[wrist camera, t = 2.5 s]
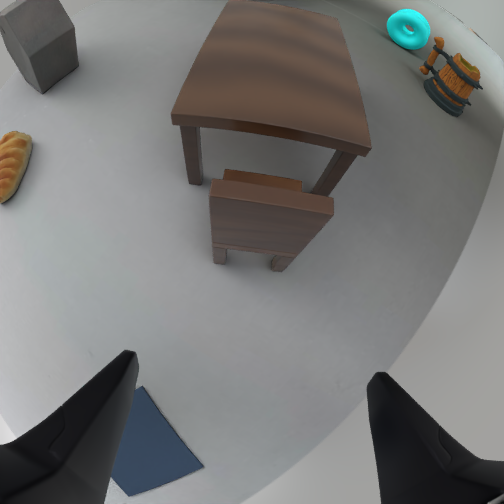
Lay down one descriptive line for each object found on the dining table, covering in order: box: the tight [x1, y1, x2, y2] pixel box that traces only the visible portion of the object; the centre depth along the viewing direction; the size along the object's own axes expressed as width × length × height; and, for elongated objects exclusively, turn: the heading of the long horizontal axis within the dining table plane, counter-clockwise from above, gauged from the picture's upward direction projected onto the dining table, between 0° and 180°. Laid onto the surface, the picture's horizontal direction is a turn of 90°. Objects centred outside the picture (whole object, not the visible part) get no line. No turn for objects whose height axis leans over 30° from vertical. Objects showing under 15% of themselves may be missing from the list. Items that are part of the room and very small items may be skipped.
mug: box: [420, 37, 483, 117], centre depth 33 cm, size 13×10×12 cm
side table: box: [171, 0, 372, 197], centre depth 25 cm, size 24×14×10 cm, turn 174°
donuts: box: [387, 9, 430, 50], centre depth 40 cm, size 10×10×10 cm
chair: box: [209, 169, 334, 272], centre depth 19 cm, size 6×6×12 cm
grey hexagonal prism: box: [0, 0, 79, 94], centre depth 22 cm, size 17×8×21 cm
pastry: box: [0, 131, 32, 203], centre depth 22 cm, size 9×7×4 cm
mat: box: [111, 386, 203, 497], centre depth 18 cm, size 9×9×1 cm
